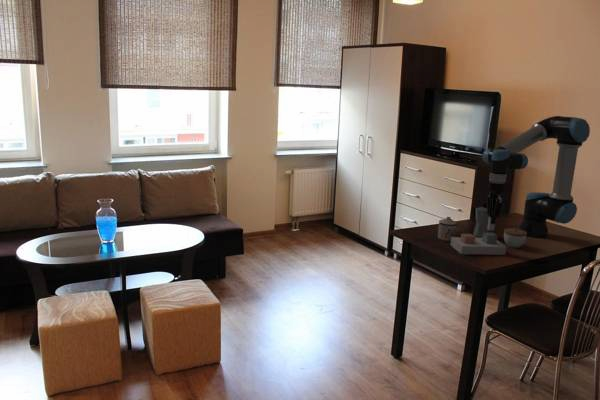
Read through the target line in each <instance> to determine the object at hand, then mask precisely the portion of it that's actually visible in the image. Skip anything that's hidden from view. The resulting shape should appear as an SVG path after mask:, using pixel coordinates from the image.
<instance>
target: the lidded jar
mask: <svg viewBox="0 0 600 400" xmlns="http://www.w3.org/2000/svg"><path fill="white" fill-rule="evenodd" d="M526 235H527V232H526V231H523V230H520V229H518V228H517V227H514V228H512V227H511V228H510V227H508V228H505V229H504V230H503V240H504V243H505V244H506V245H507V246H508V247H509V248H516V249H517V248H521V246H523V245H524V244H525V242H526V240H527V236H526ZM507 246H506V247H507Z"/></svg>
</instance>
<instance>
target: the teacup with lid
mask: <svg viewBox="0 0 600 400" xmlns="http://www.w3.org/2000/svg"><path fill="white" fill-rule="evenodd" d="M458 231H459V224H458V223H457V221H455V220H453V219H452V218H451V216H446V218H444V219H440V220H439V221H438V231H437V238H438V240H441V241H446V242H451V237H456V233H457V232H458Z"/></svg>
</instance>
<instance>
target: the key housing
mask: <svg viewBox="0 0 600 400" xmlns="http://www.w3.org/2000/svg"><path fill="white" fill-rule="evenodd" d="M450 246H452V247H451V248H454V249H455V250H456V251H457V252H458V253H459V254H460V255H495V256H496V255H498V256H501V255H502V256H503V255H504V256H506V255H507V254H506V253H507V249H508V248H507V246H506V245H505V244H503V243H502V242H501V241H499V240H497V243H496V244H486V243H484V242H483V241H482V238H480V237H475V244H464V243H463V242H462V241H461V236H460V237H457V236H455V237H451V241H450Z"/></svg>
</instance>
